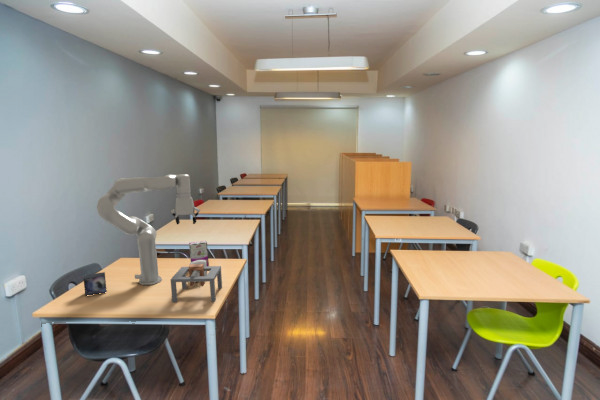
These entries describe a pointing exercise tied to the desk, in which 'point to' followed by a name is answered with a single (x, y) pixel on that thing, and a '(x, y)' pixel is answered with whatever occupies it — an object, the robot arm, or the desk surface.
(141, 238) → the robot arm
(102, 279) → the small box
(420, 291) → the desk surface
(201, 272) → the u-shaped wooden block
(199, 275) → the photo printer
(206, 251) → the candy bar box
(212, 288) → the grey square frame
